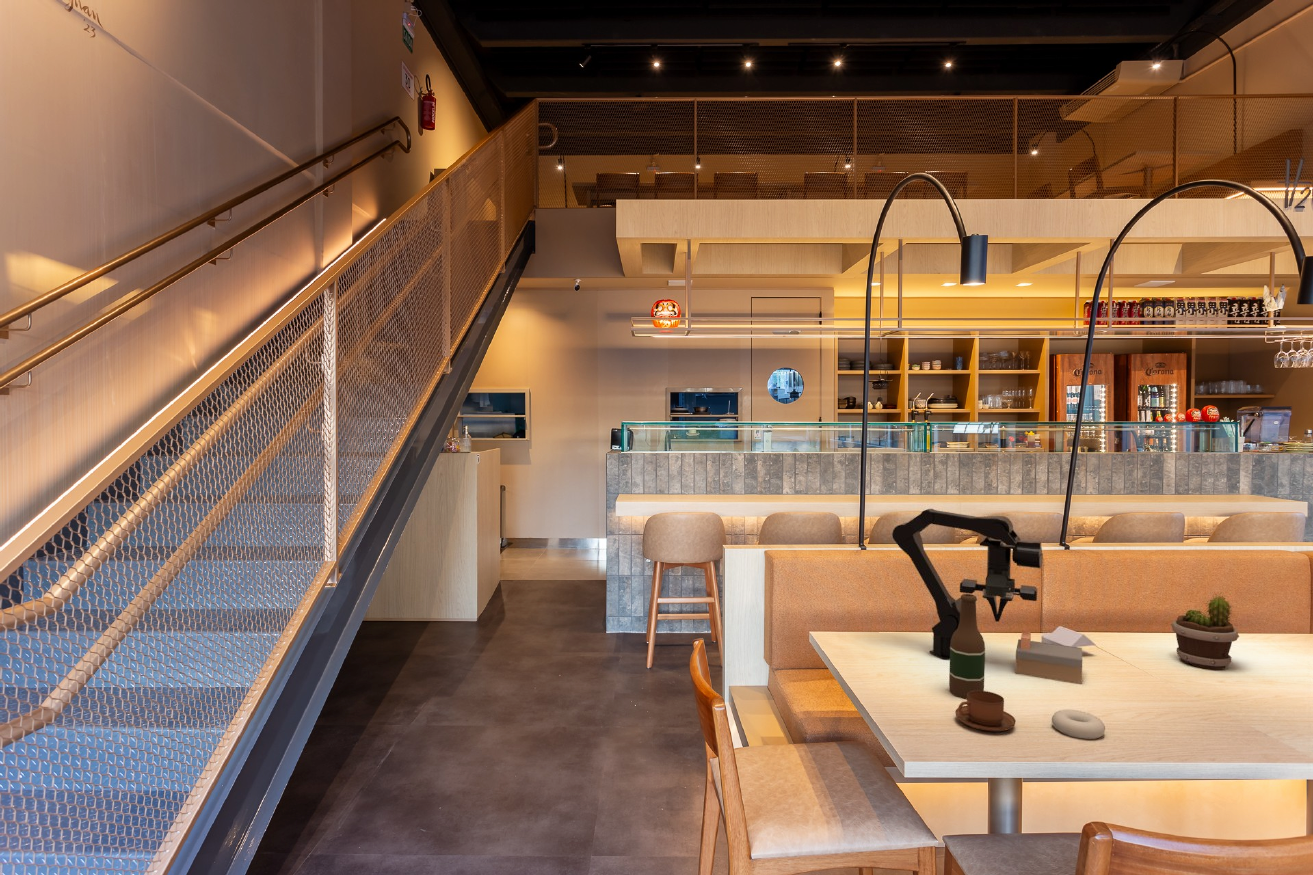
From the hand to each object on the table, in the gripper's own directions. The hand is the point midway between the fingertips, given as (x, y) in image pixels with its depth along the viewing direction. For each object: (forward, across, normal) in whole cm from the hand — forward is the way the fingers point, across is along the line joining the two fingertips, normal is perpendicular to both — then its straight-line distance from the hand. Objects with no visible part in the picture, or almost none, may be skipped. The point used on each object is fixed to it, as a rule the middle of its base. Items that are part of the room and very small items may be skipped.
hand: (997, 621), depth 202 cm
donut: (+12, +19, -38) cm, 44 cm away
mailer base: (+12, +12, 0) cm, 17 cm away
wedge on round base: (+12, +16, +23) cm, 31 cm away
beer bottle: (+12, -4, -27) cm, 30 cm away
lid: (+7, +12, 0) cm, 15 cm away
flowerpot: (+12, +49, +30) cm, 59 cm away
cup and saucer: (+12, +1, -44) cm, 45 cm away
